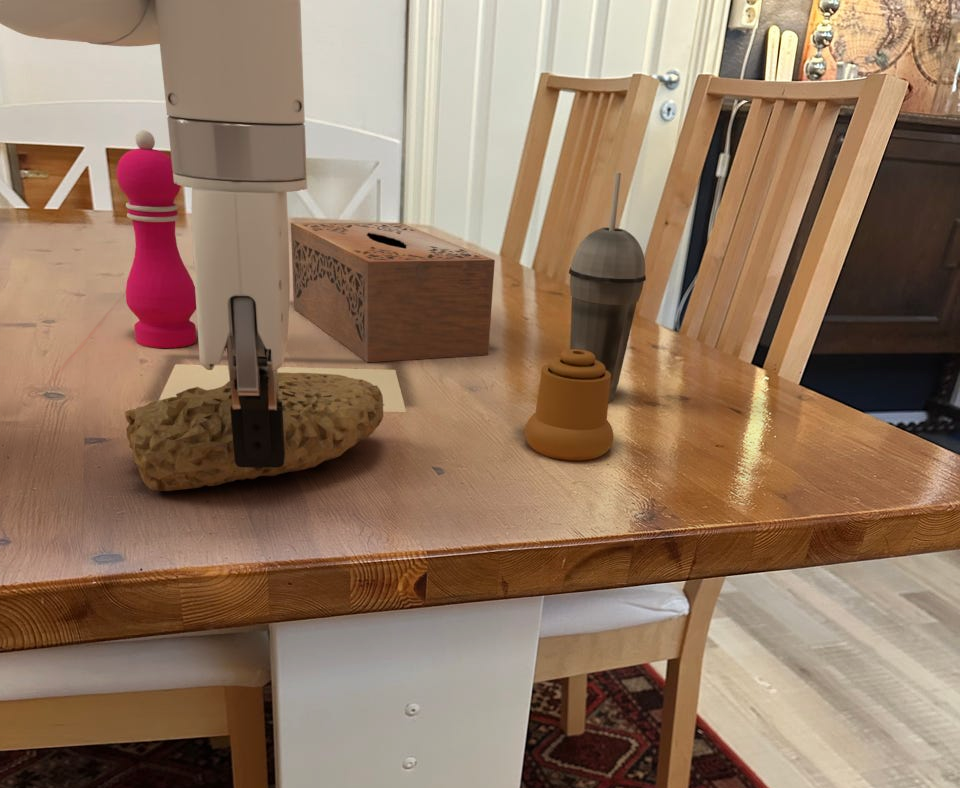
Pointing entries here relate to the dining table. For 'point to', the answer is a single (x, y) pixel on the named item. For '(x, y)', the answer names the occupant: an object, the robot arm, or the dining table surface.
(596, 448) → the ornamental finial
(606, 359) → the beverage cup
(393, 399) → the board
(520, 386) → the dining table surface
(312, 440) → the sponge
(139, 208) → the pepper mill
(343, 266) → the tissue box cover
